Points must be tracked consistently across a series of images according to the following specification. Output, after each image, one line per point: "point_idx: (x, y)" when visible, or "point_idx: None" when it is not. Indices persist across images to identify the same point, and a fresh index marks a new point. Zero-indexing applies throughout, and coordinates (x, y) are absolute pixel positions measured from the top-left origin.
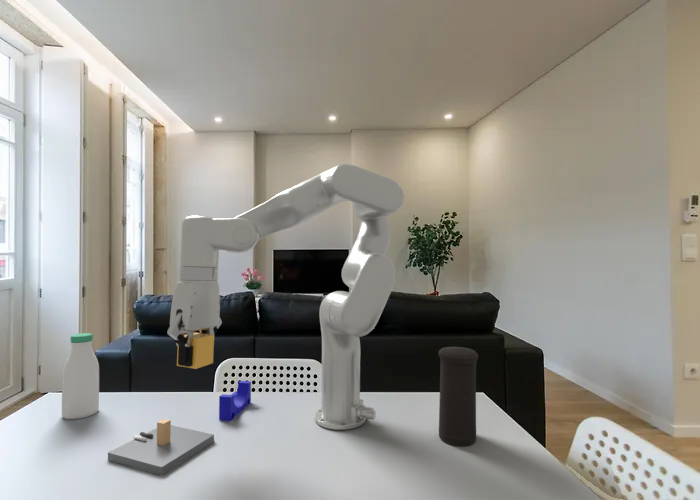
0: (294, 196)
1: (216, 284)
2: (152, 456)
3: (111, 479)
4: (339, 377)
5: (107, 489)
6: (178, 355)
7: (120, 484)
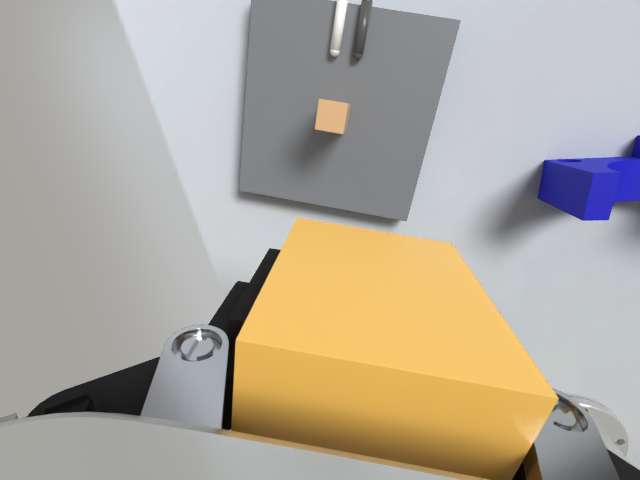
0: None
1: None
2: (270, 136)
3: (199, 87)
4: None
5: (171, 110)
6: (255, 274)
7: (193, 123)
